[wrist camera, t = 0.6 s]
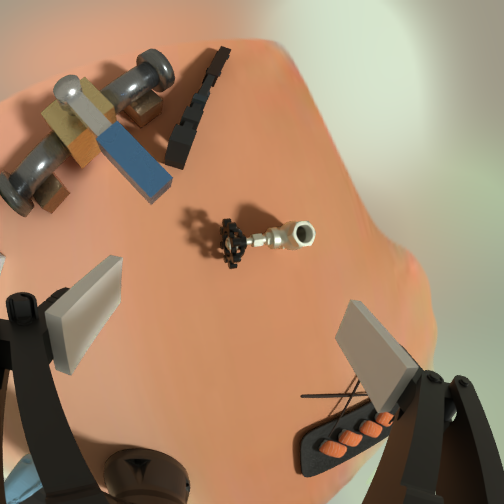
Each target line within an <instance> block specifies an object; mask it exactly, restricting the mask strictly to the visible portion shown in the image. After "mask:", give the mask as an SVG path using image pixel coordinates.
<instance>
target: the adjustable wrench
mask: <svg viewBox="0 0 504 504" xmlns="http://www.w3.org/2000/svg"><path fill="white" fill-rule="evenodd" d="M230 52H231V49H228V48H226V47H223V46H221V47H220V49H219V51H217V53H216V55H215V58H214V59H213V61H212V63H211V65H210V67H209V68H207V70H206V74H205V77H204V80H203V82H202V84H203V85H202V87H201V89H200V90H199V91H198V93H195V94H194V96H193V98H192V101H191V104H190V107H189V106H187V107H186V109H185V112H184V114H183V116H182V118H181V122H180V125H177V124H176V126H175V128H174V130H173V132H172V134H171V136H170V139H169V142H168V147H167V151H166V155H165V165H168V166H172V167H175V168H178V169H181V170H183V168H184V166H185V163H186V160H187V157H188V154H189V151H190V149H191V146H192V143H193V141H194V138H195V135H196V133H197V131H196V130H197V127H198V124H199V122H200V119H201V117H202V114H203V112H204V111H203V109H204V107H205V104H206V102H207V100H208V98H209V95H210V91H209V90H210V88H211V86H212V87H214V85H215V83H216V80H217V78H218V76H219V77H220V74H221V70H222V68H223V66H224V64H225V62H226V60H228V58H229V56H230V55H229V54H230Z"/></svg>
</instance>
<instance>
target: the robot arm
mask: <svg viewBox="0 0 504 504" xmlns="http://www.w3.org/2000/svg"><path fill="white" fill-rule="evenodd" d="M122 261H123V258H122V257H118V256H113V255H110V256H108V257H107V258H106V259H105V260H103V261H102V262H101V263H100V264H99V265H97V266H96V267H95V268H94V269H93V270H91V271H90V272H89V273H88V274H87V275H85V276H84V277H83V278H82V279H81V280H80V281H78V282H77V283H76V284H75V285H74V286H73V287H72V288H66V287H65V288H62V289H60V290H57V291H56V292H54V293H53V294H52V295H51V297H49V298H47V299H46V301H44V302H43V303H42V304H41V305H39V306H38V307H37V301H36V298H35V296H34V295H32V294H30V293H26V292H19V293H15V294H12V295H10V296H9V297H8V298H7V300H6V307H7V313H8V318H9V320H5V319H0V504H187V501H188V496H189V492H190V481H189V477H188V474H187V471H186V470H185V468H184V467H183V466H182V465H181V464H180V463H179V462H178V461H177V460H175V459H174V458H172V457H170V456H168V455H166V454H163V453H160V452H157V451H153V450H147V449H128V450H123V451H120V452H117V453H115V454H114V455H112V456H111V457H110V458H109V459H108V460H107V462H106V464H105V468H104V481H105V484H106V486H107V489H108V492H109V494H108V493H105V492H103V491H101V489H100V487H99V486H98V484H97V482H96V481H95V479H94V477H93V475H92V473H91V472H90V470H89V468H88V466H87V464H86V462H85V460H84V458H83V456H82V454H81V452H80V450H79V447H78V445H77V443H76V441H75V439H74V436H73V434H72V432H71V429H70V427H69V424H68V422H67V419H66V417H65V414H64V411H63V409H62V406H61V403H60V400H59V397H58V394H57V391H56V388H55V384H54V381H53V378H52V374H51V371H50V367H49V364H50V363H51V361H52V360H54V364H55V368H56V370H58V371H60V372H63V373H66V374H68V375H72V373H73V372H74V370H75V369H76V367H77V365H78V364H79V362H80V361H81V359H82V358H83V356H84V355H85V353H86V352H87V350H88V348H89V347H90V345H91V344H92V342H93V341H94V340H95V338H96V337H97V335H98V334H99V332H100V331H101V329H102V328H103V326H104V325H105V323H106V322H107V321H108V319H109V318H110V316H111V315H112V314H113V312H114V311H115V309H116V308H117V307H118V305H119V304H120V302H121V278H122ZM335 339H336V341H337V343H338V344H339V346H340V348H341V349H342V351H343V353H344V355H345V356H346V358H347V360H348V361H349V363H350V365H351V367H352V368H353V370H354V372H355V373H356V375H357V377H358V379H359V380H360V382H361V384H362V386H363V387H364V389H365V391H366V393H367V394H368V396H369V398H370V400H371V402H372V403H373V405H374V407H375V409H376V410H377V412H378V413H383V412H390V411H391V410H392V408H393V407H394V406H395V404H396V403H398V405H399V406H400V408H399V409H398V411H397V412H396V413H395V415H394V416H393V417H392V419H391V420H390V421H389V423H388V424H391V422H393V425H392V428H391V431H390V434H389V437H388V440H387V443H386V446H385V449H384V452H383V455H382V457H381V460H380V463H379V465H378V468H377V470H376V473H375V475H374V478H373V480H372V482H371V485H370V487H369V489H368V491H367V494H366V496H365V498H364V500H363V502H362V504H504V470H503V467H502V463H501V459H500V456H499V452H498V449H497V446H496V443H495V440H494V437H493V434H492V431H491V428H490V426H489V423H488V420H487V418H486V415H485V412H484V410H483V407H482V405H481V403H480V400H479V398H478V396H477V393H476V391H475V389H474V387H473V384H472V383H471V382H470V381H469V379H468V378H466V377H464V376H460V375H457V376H455V377H454V379H453V380H452V382H451V383H446V382H444V380H443V378H442V377H441V376H440V375H439V374H437V373H435V372H434V371H430V370H425V371H424V370H423V369H422V368H421V367H420V366H419V365H418V363H417V362H416V361H415V360H414V359H413V358H412V356H411V355H410V354H409V353H408V352H407V351H406V350H405V348H404V347H403V346H401V345H400V344H399V343H398V342H397V341H396V340H395V339H394V337H393V336H392V335H391V334H390V333H389V332H388V331H387V330H386V328H385V327H384V326H383V325H382V324H381V323H380V322H379V321H378V320H377V318H376V317H375V316H374V315H373V314H372V313H371V312H370V311H369V310H368V309H367V307H366V306H365V305H364V304H363V303H362V302H361V301H356V300H350V301H349V304H348V307H347V309H346V312H345V314H344V317H343V319H342V322H341V324H340V327H339V329H338V332H337V334H336V337H335ZM10 370H13V377H14V384H15V391H16V396H17V402H18V407H19V412H20V416H21V421H22V425H23V429H24V433H25V436H26V440H27V443H28V447H29V450H30V453H31V454H27V455H25V456H24V457H23V458H22V459H21V460H20V461H19V462H18V463H17V465H16V466H15V467H14V469H13V470H12V471H11V473H10V474H9V476H8V477H7V479H6V480H5V482H4V476H3V450H2V446H3V419H4V407H5V398H6V390H7V383H8V377H9V371H10ZM456 412H457V414H456V417H455V419H454V421H453V422H452V419H451V418H452V417H453V415H454V414H455V413H456ZM435 491H436V495H435Z"/></svg>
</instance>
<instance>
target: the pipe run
mask: <svg viewBox="0 0 504 504" xmlns="http://www.w3.org/2000/svg"><path fill="white" fill-rule="evenodd" d="M136 63H137V66H136V67H134V68H132V69H131V70H129V71H128V72H126V73H125V74H123V75H121V76H120V77H119V78H117V79H116V80H114V81H113V82H111V83H110V84H108V85H107V86H106V87H104V88H103V89H101V90H100V91H98V90H97V89H96V88H95V86H94V85H93V84H92V83H91V82H90V81H89V80H88V79H87V78H86V77H84V78H83V79H81V80H80V84H81V87H82V90H83V93H84V95H85V96H86V97H87V98H88V99H89V100H90V101H91V102H92V103H93V105H94V106H95V107H96V108H97V109H98V110H99V111H100V112H101V113H102V114H103V115H104V116H105V117H106V118H107V119H108V120H109V121H110V122H111V123H112V124H114V123H115V122H116V121H117V119H116V115H117V114H118V113H119V112H121V111H122V110H123V111H124V112H125V113H126V114H127V115H128V116H129V117H130V118H131V119H132V120H133V121H134V122H135V123H136V124H137V125H138V126H139V127H140V128H142V127H143V126H145V125H146V124H147V123H148V122H150V121H151V120H152V119H154V118H155V117H156V116H158V115H159V114H160V113H161V111H162V102H163V100H162V99H161V98H160V97H159V96H158V95H157V94H156V93H155V92H154V91H156V92H163V91H165V90H166V89H168V88H169V87H171V86H172V85H173V84H174V81H175V76H174V71H173V69H172V66H171V64H170V63H169V61H168V60H167V58H166V57H165V56H164V55H163V54H162V53H161V52H159V51H158V50H156V49H149V50H147V51H145V52H143V53H141V54H140V55H138V57H137V60H136ZM151 89H153V90H154V91H152V90H151ZM41 115H42V116H43V118H44V119H45V121H46V122H47V124H48V125H49V127H50V128H51V130H52V131H51V132H50V133H49V134H48V135H47V136H46V137H45V138H44V139H43V140H42V141H41V142H40V143H39V144H38V145H37V146H36V147H35V148H34V149H33V150H32V151H31V152H30V153H29V154H28V155H27V156H26V158H25V159H24V160H23V161H22V162H21V163H20V164H19V165H18V167H17V168H16V169H15V170H14V171H13V172H12V174H9V173H8V172H7V171H5V170H3V171H2V172H1V173H0V195H1V196H2V198H3V199H4V200H5V201H6V203H7V204H8V205H9V206H10V207H11V208H12V209H13V210H14V211H15V212H17V213H18V214H19V215H21V216H23V217H27V215H28V214H29V213H30V212H31V210H32V209H33V208H34V203H33V201H32V200H31V198H30V197H31V196H32V195H33V196H34V198H35V199H36V201H37V202H38V203H39V205H40V206H41V207H42V209H44V210H46V211H48V212H50V213H53V212H54V211H55V209H56V208H57V207H58V206H59V205H60V204H61V203H62V202H63V200H64V199H65V198H66V197H67V196H68V195H69V194H70V192H69V191H68V190H67V188H66V187H65V186H64V185H63V183H62V182H61V181H60V180H59V178H58V177H57V176H56V175H55V173H54V171H55V170H56V169H57V168H58V167H59V166H60V165H61V164H62V163H63V162H64V161H65V160H66V159H67V158H68V157H69V156H70V155H71V156H72V157H73V158H74V160H75V161H76V162H77V163H78V164H79V166H80V167H81V168H82V169H83V168H84V167H85V166H86V165H87V164H88V163H89V162H90V161H91V160H92V159H93V158H94V157H95V156H97V155H98V154H99V153H100V152H101V151H100V148H99V146H98V143H97V141H96V138H95V137H94V135H93V134H92V133H91V132H90V131H89V130H88V129H87V128H86V127H85V125H84V124H83V123H82V122H81V121H80V120H79V119H78V118H77V116H76V115H75V114H74V113H73V112H72V111H63V110H62V109H61V107H60V105H59V103H58V101H57V99H56V100H55V101H54V102H52V103H51V104H50V105H49V106H48V107H47V108H46V109H45V110H43V111H42V112H41Z"/></svg>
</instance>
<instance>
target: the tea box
mask: <svg viewBox="0 0 504 504" xmlns="http://www.w3.org/2000/svg"><path fill="white" fill-rule="evenodd" d="M5 258H6V257H5V256H4V255H2V254H1V253H0V274H1V271H2V268H3V264H4V261H5Z"/></svg>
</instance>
